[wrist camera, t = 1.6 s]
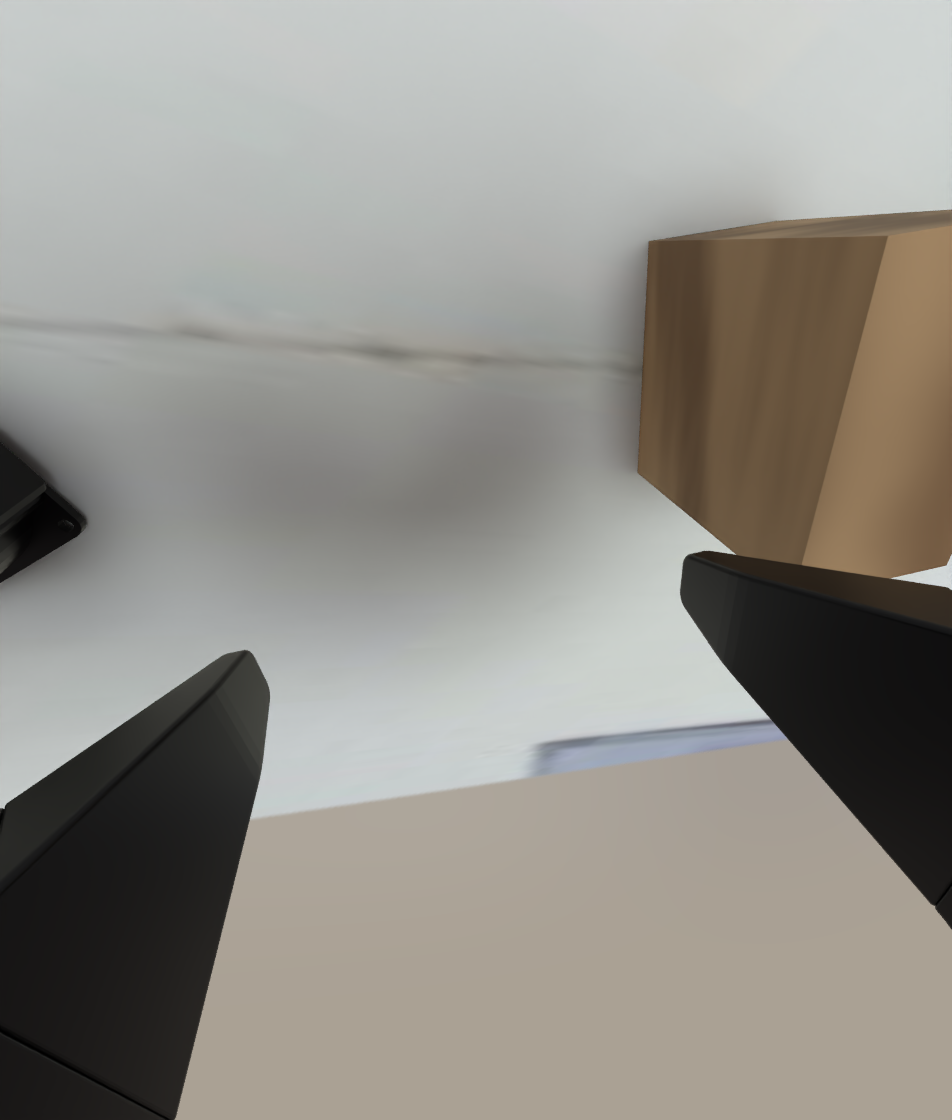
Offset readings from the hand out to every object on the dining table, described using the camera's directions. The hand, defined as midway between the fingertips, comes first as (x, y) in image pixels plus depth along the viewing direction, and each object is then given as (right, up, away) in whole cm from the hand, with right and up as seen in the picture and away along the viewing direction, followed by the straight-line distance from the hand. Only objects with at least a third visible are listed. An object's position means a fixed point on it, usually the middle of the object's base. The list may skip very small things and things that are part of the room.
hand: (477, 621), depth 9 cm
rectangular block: (+13, +10, +12) cm, 21 cm away
